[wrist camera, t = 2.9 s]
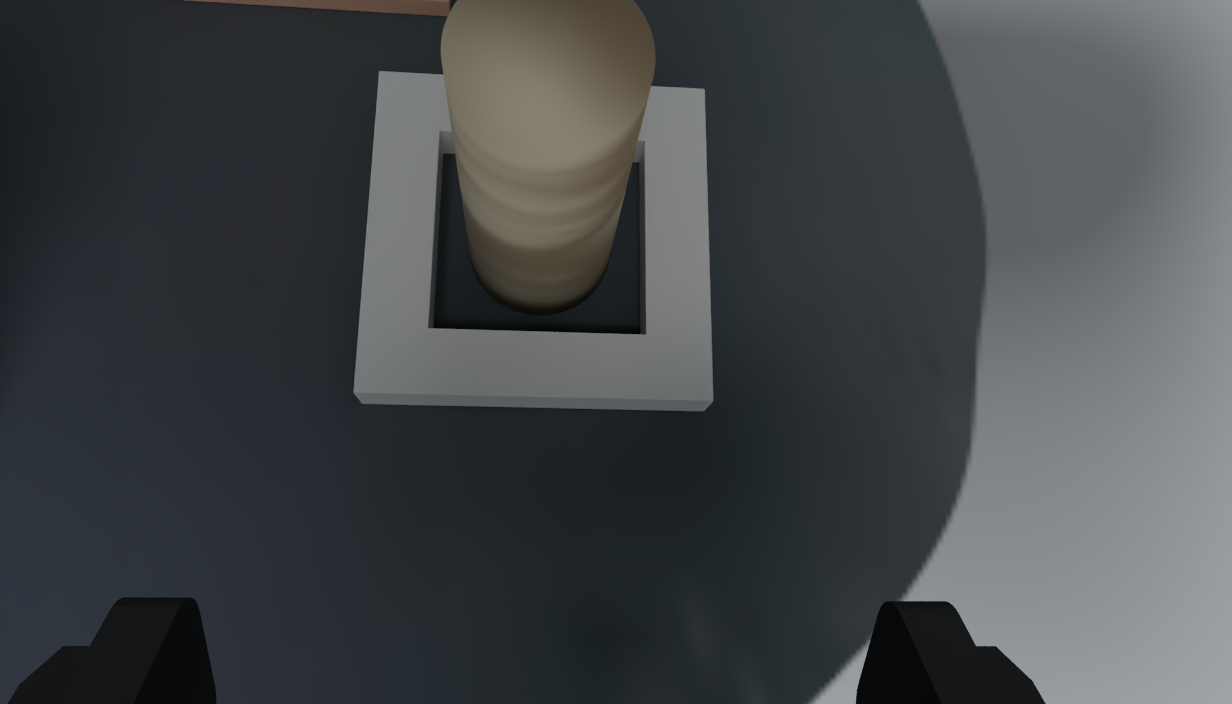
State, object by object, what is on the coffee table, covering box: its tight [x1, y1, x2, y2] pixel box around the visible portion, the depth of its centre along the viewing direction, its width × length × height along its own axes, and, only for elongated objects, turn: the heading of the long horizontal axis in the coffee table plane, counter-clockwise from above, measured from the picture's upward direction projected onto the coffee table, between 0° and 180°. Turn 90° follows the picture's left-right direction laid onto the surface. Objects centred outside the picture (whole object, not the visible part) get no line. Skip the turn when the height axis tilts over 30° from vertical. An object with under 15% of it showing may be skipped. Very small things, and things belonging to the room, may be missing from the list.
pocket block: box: [353, 71, 713, 411], centre depth 29 cm, size 10×10×2 cm
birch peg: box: [441, 0, 656, 315], centre depth 25 cm, size 4×4×11 cm
